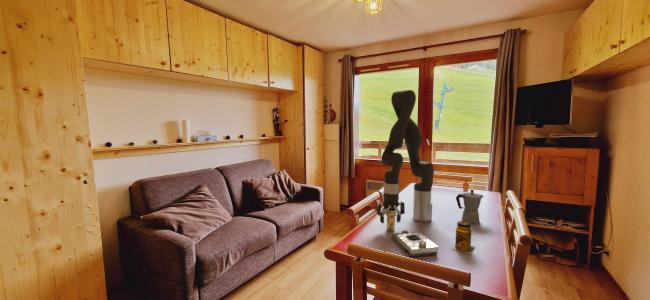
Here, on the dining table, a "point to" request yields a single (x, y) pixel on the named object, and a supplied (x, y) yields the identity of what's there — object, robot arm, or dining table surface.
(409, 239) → the slotted plate with knobs
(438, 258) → the dining table surface
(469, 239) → the yellow jar
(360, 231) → the dining table surface
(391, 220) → the brass pin
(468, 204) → the coffeepot
